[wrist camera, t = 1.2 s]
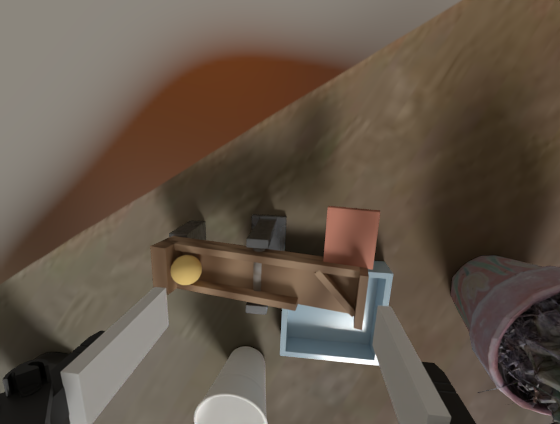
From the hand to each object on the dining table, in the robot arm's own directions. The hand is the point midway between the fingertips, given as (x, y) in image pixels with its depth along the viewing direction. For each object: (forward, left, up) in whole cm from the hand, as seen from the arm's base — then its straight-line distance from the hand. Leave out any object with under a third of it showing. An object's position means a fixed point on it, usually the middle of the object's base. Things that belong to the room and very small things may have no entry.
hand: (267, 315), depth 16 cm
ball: (-11, -4, -13) cm, 18 cm away
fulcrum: (-3, -4, -23) cm, 24 cm away
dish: (+7, -13, -23) cm, 27 cm away
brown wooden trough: (-3, -2, -15) cm, 15 cm away
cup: (-6, -25, -23) cm, 35 cm away
